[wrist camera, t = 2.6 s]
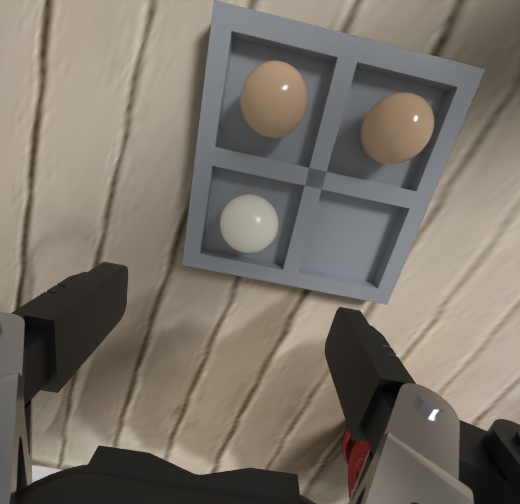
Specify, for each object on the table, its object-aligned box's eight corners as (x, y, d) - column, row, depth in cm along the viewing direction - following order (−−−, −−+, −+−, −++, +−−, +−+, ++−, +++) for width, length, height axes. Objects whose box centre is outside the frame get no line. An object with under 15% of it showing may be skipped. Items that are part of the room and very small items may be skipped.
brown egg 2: (421, 107, 22) (463, 93, 18) (398, 169, 24) (431, 172, 19) (363, 93, 22) (390, 76, 17) (344, 156, 24) (364, 157, 19)
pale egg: (282, 197, 25) (287, 206, 20) (270, 247, 27) (272, 267, 22) (228, 185, 25) (220, 192, 20) (220, 237, 26) (210, 255, 22)
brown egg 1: (309, 80, 22) (323, 59, 17) (294, 145, 23) (302, 143, 19) (248, 65, 21) (244, 40, 17) (237, 132, 23) (231, 126, 18)
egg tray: (463, 77, 22) (485, 69, 20) (377, 293, 29) (387, 304, 27) (219, 16, 21) (214, 0, 19) (188, 256, 28) (181, 264, 26)
